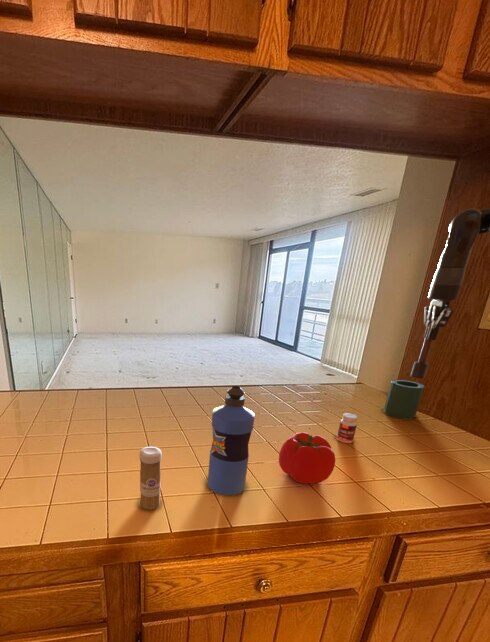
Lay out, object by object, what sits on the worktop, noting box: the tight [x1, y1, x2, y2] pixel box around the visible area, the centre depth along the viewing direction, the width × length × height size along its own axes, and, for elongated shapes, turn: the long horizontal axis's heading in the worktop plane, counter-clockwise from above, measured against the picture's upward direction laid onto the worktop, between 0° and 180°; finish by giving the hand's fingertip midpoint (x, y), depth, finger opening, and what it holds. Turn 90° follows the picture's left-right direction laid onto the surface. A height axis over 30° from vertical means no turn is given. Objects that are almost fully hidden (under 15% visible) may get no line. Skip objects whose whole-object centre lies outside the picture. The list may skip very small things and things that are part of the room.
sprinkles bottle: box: [139, 446, 162, 511], centre depth 74 cm, size 5×5×14 cm
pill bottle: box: [336, 412, 359, 444], centre depth 108 cm, size 5×5×8 cm
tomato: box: [278, 431, 336, 485], centre depth 87 cm, size 14×13×10 cm
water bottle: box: [207, 385, 256, 496], centre depth 80 cm, size 9×9×25 cm
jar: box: [382, 379, 426, 420], centre depth 129 cm, size 10×10×12 cm
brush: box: [410, 323, 434, 379], centre depth 116 cm, size 4×4×18 cm
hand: (429, 339), depth 115 cm, fingers closed on brush, 2 cm apart
